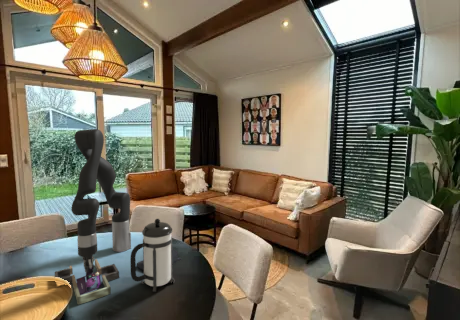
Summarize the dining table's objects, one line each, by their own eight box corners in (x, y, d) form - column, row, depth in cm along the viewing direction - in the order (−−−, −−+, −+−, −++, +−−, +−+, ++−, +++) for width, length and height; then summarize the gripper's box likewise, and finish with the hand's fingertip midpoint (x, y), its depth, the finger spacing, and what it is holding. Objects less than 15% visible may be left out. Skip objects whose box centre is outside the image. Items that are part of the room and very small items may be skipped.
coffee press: (145, 273, 125) (144, 213, 122) (178, 274, 124) (178, 213, 121) (130, 296, 108) (128, 226, 104) (168, 297, 107) (168, 227, 104)
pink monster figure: (76, 279, 108) (99, 271, 114) (73, 278, 111) (95, 270, 118) (79, 296, 107) (102, 286, 113) (75, 294, 110) (98, 285, 117)
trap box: (109, 261, 136) (109, 255, 136) (125, 288, 112) (125, 282, 112) (54, 276, 121) (54, 269, 121) (59, 311, 98) (59, 303, 98)
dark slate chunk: (131, 267, 131) (131, 258, 131) (165, 251, 149) (165, 243, 149) (151, 277, 122) (150, 267, 122) (184, 259, 140) (184, 251, 140)
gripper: (99, 246, 111) (101, 284, 113) (94, 236, 122) (95, 271, 124) (79, 250, 107) (81, 290, 109) (75, 240, 117) (77, 276, 119)
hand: (89, 280), depth 116 cm, fingers closed
